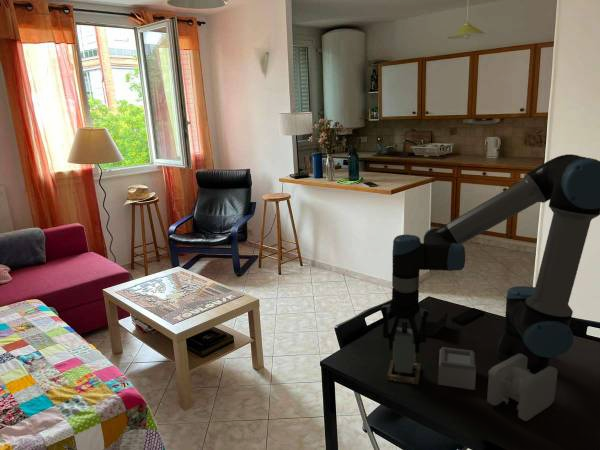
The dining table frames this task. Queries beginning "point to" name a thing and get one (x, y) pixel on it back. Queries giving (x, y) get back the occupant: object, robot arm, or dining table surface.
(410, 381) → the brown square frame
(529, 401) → the cable organizer
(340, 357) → the dining table surface
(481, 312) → the remote control
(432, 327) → the handheld gaming console
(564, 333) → the robot arm
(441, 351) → the grey square recessed block
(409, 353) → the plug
